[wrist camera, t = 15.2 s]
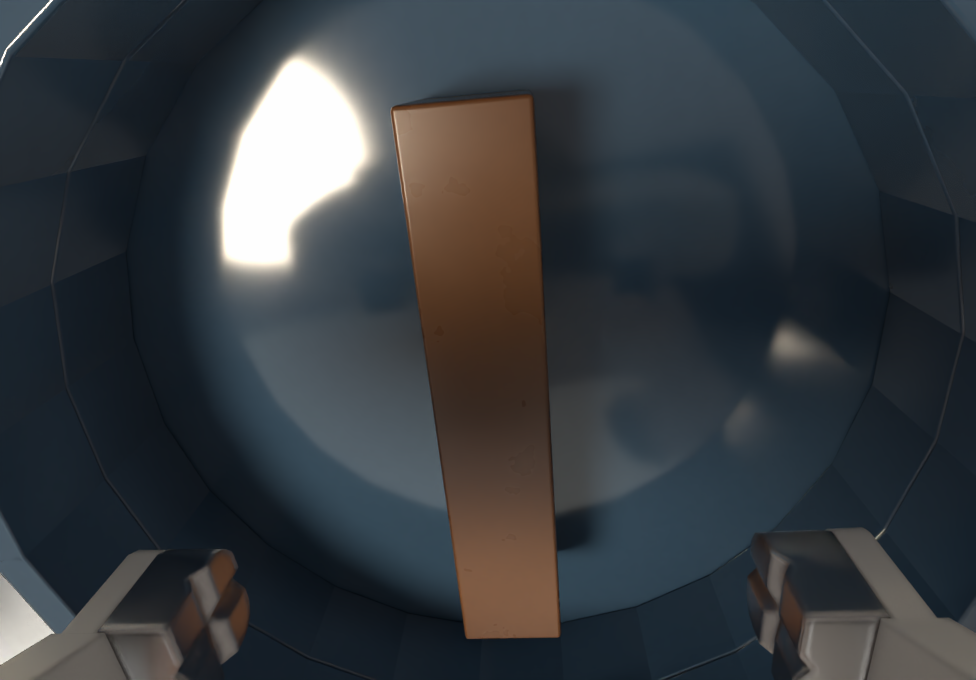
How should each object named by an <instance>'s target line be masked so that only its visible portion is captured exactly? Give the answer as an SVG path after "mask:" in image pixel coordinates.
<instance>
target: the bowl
mask: <svg viewBox="0 0 976 680" xmlns="http://www.w3.org/2000/svg"><path fill="white" fill-rule="evenodd" d="M519 90H529V91H531V93H532V95H533V97H534V105H535V125H536V144H537V164H538V184H539V204H540V224H541V243H542V263H543V283H544V303H545V322H546V342H547V362H548V382H549V401H550V421H551V441H552V461H553V480H554V500H555V520H556V540H557V559H558V579H559V599H560V619H561V635H560V637H558V638H498V639H467V638H466V636H465V631H464V624H463V617H462V610H461V603H460V596H459V589H458V582H457V575H456V568H455V561H454V554H453V547H452V540H451V533H450V526H449V519H448V512H447V505H446V498H445V491H444V484H443V477H442V470H441V463H440V456H439V449H438V442H437V435H436V428H435V421H434V414H433V407H432V400H431V393H430V386H429V379H428V372H427V365H426V358H425V351H424V344H423V337H422V330H421V323H420V316H419V309H418V302H417V295H416V288H415V281H414V274H413V267H412V260H411V253H410V246H409V239H408V232H407V225H406V218H405V211H404V204H403V197H402V190H401V183H400V176H399V169H398V162H397V155H396V148H395V141H394V134H393V127H392V120H391V113H390V111H391V107H393V106H395V105H399V104H404V103H408V102H412V101H416V100H421V99H432V98H443V97H454V96H464V95H475V94H486V93H497V92H508V91H519ZM858 527H862V528H864V529H866V530H868V531H869V532H870V533H871V534H872V535H873V537H874V538H875V539H876V540H877V542H878V543H879V544H880V545H881V547H882V548H883V549H884V551H885V552H886V553H887V554H888V556H889V557H890V558H891V560H892V561H893V562H894V563H895V565H896V566H897V567H898V568H899V570H900V571H901V572H902V574H903V575H904V576H905V577H906V579H907V580H908V581H909V582H910V584H911V585H912V586H913V588H914V589H915V590H916V591H917V593H918V594H919V595H920V597H921V598H922V599H923V600H924V602H925V603H926V604H927V605H928V607H929V608H930V609H931V611H932V612H933V613H934V614H935V616H936V617H937V618H950V619H952V620H954V621H956V622H957V623H959V624H961V625H962V626H964V627H966V628H968V629H969V630H971V631H973V632H974V633H976V0H0V573H1V574H2V575H3V577H4V578H5V579H6V580H7V581H8V582H9V583H10V584H11V585H12V586H13V588H14V589H15V590H16V591H17V592H18V593H19V594H20V595H21V596H22V598H23V599H24V600H25V601H26V602H27V603H28V604H29V605H30V606H31V608H32V609H33V610H34V611H35V612H36V613H37V614H38V615H39V616H40V617H41V619H42V620H43V621H44V622H45V623H46V624H47V625H48V626H49V627H50V629H51V630H52V631H53V632H54V633H55V634H61V633H62V632H63V631H64V630H65V629H66V627H67V626H68V625H69V624H70V623H71V622H72V620H73V619H74V618H75V617H76V616H77V615H78V613H79V612H80V611H81V610H82V609H83V607H84V606H85V605H86V604H87V603H88V602H89V600H90V599H91V598H92V597H93V596H94V595H95V593H96V592H97V591H98V590H99V589H100V588H101V586H102V585H103V584H104V583H105V582H106V581H107V579H108V578H109V577H110V576H111V575H112V573H113V572H114V571H115V570H116V569H117V568H118V566H119V565H120V564H121V563H122V562H123V561H124V559H125V558H126V557H127V556H128V555H129V554H131V553H134V552H136V551H138V550H167V549H226V550H229V551H232V552H233V555H234V557H235V560H236V562H237V565H238V569H237V571H236V573H235V575H234V577H233V579H235V580H236V581H237V582H238V583H239V584H241V585H242V586H243V587H244V588H246V592H247V595H248V598H249V604H250V618H249V623H248V628H247V633H246V636H245V638H244V640H243V642H242V644H241V646H240V648H239V650H238V652H236V653H235V654H234V655H233V656H232V657H230V658H229V659H228V660H227V661H225V662H224V663H223V664H222V667H223V671H224V676H225V678H224V680H774V678H773V675H772V673H771V667H772V659H773V654H772V653H770V652H769V651H768V650H767V649H765V648H764V647H763V646H762V645H760V644H759V642H758V639H757V637H756V634H755V632H754V629H753V627H752V623H751V619H750V616H749V612H748V604H747V595H746V590H747V576H748V575H749V574H750V573H751V572H752V571H753V570H754V569H755V568H756V565H755V563H754V561H753V559H752V557H751V554H750V548H751V540H752V538H753V536H754V533H755V532H776V531H801V530H826V529H837V528H858Z"/></svg>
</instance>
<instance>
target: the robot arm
mask: <svg viewBox="0 0 976 680" xmlns="http://www.w3.org/2000/svg"><path fill="white" fill-rule="evenodd" d="M750 554H751V557H752V559H753V561H754V563H755V565H756V568H755V569H754V570H753V571H752V572H751V573H750V574H749V575H748V576H747V590H746V595H747V604H748V612H749V616H750V619H751V623H752V627H753V629H754V632H755V634H756V637H757V639H758V642H759V644H760V645H762V646H763V647H764V648H765V649H767V650H768V651H769V652H770V653H772V654H773V659H772V667H771V673H772V675H773V678H774V680H976V633H974V632H973V631H971V630H969V629H968V628H966V627H964V626H962V625H961V624H959V623H957V622H956V621H954V620H952V619H950V618H937V617H936V616H935V614H934V613H933V612H932V611H931V609H930V608H929V607H928V605H927V604H926V603H925V602H924V600H923V599H922V598H921V597H920V595H919V594H918V593H917V591H916V590H915V589H914V588H913V586H912V585H911V584H910V582H909V581H908V580H907V579H906V577H905V576H904V575H903V574H902V572H901V571H900V570H899V568H898V567H897V566H896V565H895V563H894V562H893V561H892V560H891V558H890V557H889V556H888V554H887V553H886V552H885V551H884V549H883V548H882V547H881V545H880V544H879V543H878V542H877V540H876V539H875V538H874V537H873V535H872V534H871V533H870V532H869V531H868V530H866V529H864V528H862V527H858V528H837V529H826V530H801V531H776V532H755V533H754V536H753V538H752V540H751V548H750ZM237 569H238V565H237V562H236V560H235V557H234V555H233V552H232V551H229V550H226V549H167V550H138V551H136V552H134V553H131V554H129V555H128V556H127V557H126V558H125V559H124V561H123V562H122V563H121V564H120V565H119V566H118V568H117V569H116V570H115V571H114V572H113V573H112V575H111V576H110V577H109V578H108V579H107V581H106V582H105V583H104V584H103V585H102V586H101V588H100V589H99V590H98V591H97V592H96V593H95V595H94V596H93V597H92V598H91V599H90V600H89V602H88V603H87V604H86V605H85V606H84V607H83V609H82V610H81V611H80V612H79V613H78V615H77V616H76V617H75V618H74V619H73V620H72V622H71V623H70V624H69V625H68V626H67V627H66V629H65V630H64V631H63V632H62V633H61V634H51V635H49V636H47V637H46V638H44V639H42V640H41V641H39V642H37V643H36V644H34V645H33V646H31V647H29V648H28V649H26V650H24V651H23V652H21V653H20V654H18V655H16V656H15V657H13V658H11V659H10V660H8V661H6V662H5V663H3V664H2V665H0V680H224V678H225V676H224V671H223V667H222V664H223V663H224V662H225V661H227V660H228V659H229V658H230V657H232V656H233V655H234V654H235V653H236V652H238V650H239V648H240V646H241V644H242V642H243V640H244V638H245V636H246V633H247V628H248V623H249V618H250V604H249V598H248V595H247V592H246V588H244V587H243V586H242V585H241V584H239V583H238V582H237V581H236V580H235V579H233V577H234V575H235V573H236V571H237Z"/></svg>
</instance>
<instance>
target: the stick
mask: <svg viewBox="0 0 976 680" xmlns="http://www.w3.org/2000/svg"><path fill="white" fill-rule="evenodd" d="M390 113H391V120H392V127H393V134H394V141H395V148H396V155H397V162H398V169H399V176H400V183H401V190H402V197H403V204H404V211H405V218H406V225H407V232H408V239H409V246H410V253H411V260H412V267H413V274H414V281H415V288H416V295H417V302H418V309H419V316H420V323H421V330H422V337H423V344H424V351H425V358H426V365H427V372H428V379H429V386H430V393H431V400H432V407H433V414H434V421H435V428H436V435H437V442H438V449H439V456H440V463H441V470H442V477H443V484H444V491H445V498H446V505H447V512H448V519H449V526H450V533H451V540H452V547H453V554H454V561H455V568H456V575H457V582H458V589H459V596H460V603H461V610H462V617H463V624H464V631H465V636H466V638H467V639H498V638H558V637H560V635H561V619H560V599H559V579H558V559H557V540H556V520H555V500H554V480H553V461H552V441H551V421H550V401H549V382H548V362H547V342H546V322H545V303H544V283H543V263H542V243H541V224H540V204H539V184H538V164H537V144H536V125H535V105H534V97H533V95H532V93H531V91H529V90H519V91H508V92H497V93H486V94H475V95H464V96H454V97H443V98H432V99H421V100H416V101H412V102H408V103H404V104H399V105H395V106H393V107H391V111H390Z"/></svg>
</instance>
